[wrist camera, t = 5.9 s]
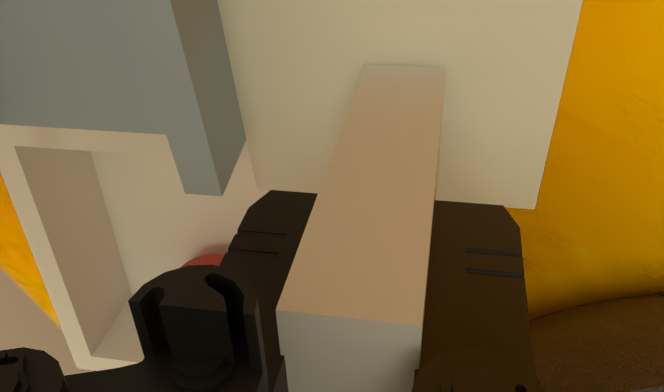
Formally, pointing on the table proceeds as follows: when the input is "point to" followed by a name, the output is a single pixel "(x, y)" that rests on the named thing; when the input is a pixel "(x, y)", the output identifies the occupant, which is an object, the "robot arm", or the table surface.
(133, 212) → the dish
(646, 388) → the bowl
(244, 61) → the ramp
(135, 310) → the robot arm
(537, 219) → the table surface
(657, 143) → the table surface
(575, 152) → the table surface
